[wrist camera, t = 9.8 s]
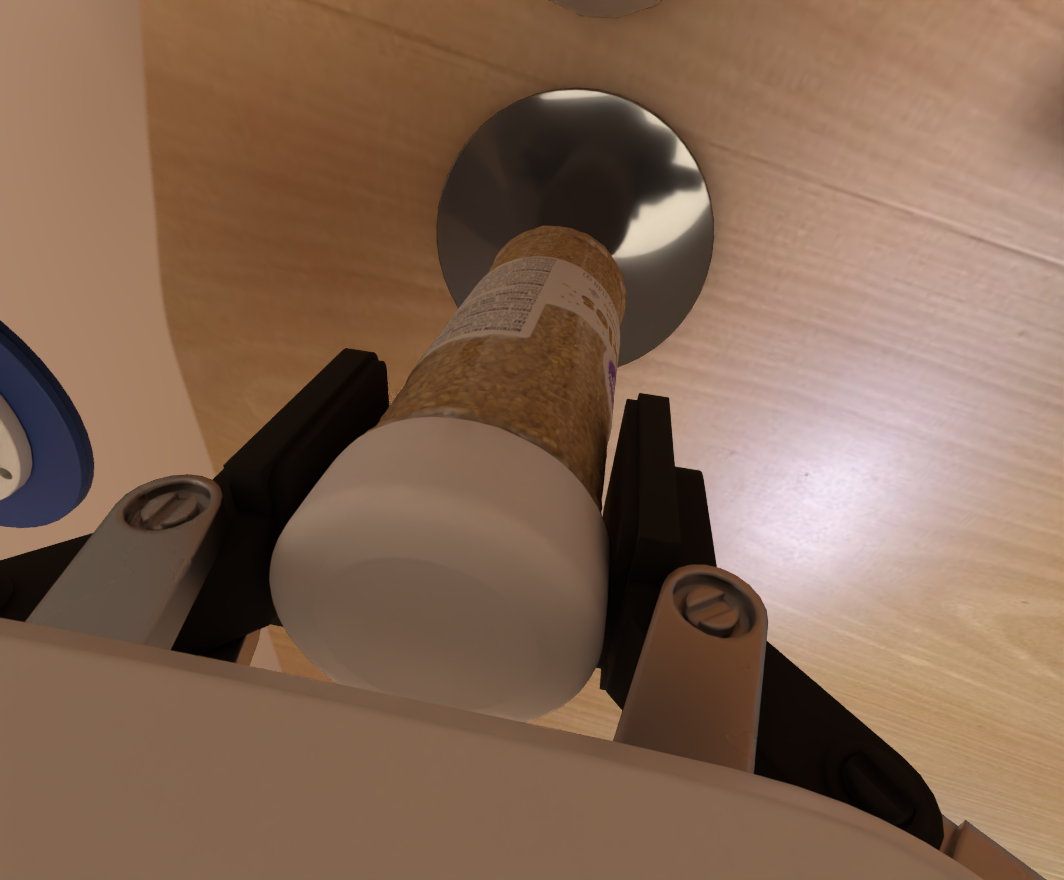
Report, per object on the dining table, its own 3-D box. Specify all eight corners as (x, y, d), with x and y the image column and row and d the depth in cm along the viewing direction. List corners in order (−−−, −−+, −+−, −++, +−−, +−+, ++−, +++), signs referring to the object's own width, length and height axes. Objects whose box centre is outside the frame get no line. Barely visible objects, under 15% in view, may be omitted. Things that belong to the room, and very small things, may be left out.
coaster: (502, 396, 27) (500, 401, 27) (392, 159, 22) (387, 162, 22) (738, 328, 24) (740, 333, 23) (671, 29, 19) (672, 28, 18)
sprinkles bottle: (639, 343, 19) (637, 741, 8) (510, 369, 20) (352, 744, 9) (608, 201, 17) (544, 476, 6) (465, 241, 18) (183, 530, 7)
